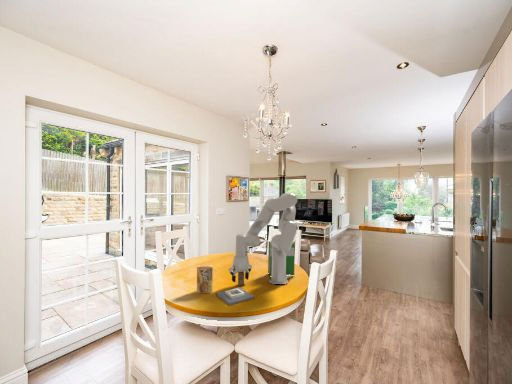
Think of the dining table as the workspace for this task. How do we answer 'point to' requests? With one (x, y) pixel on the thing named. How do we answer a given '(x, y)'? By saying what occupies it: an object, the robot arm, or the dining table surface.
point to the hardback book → (289, 260)
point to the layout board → (234, 296)
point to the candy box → (204, 278)
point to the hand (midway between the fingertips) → (240, 280)
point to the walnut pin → (240, 278)
